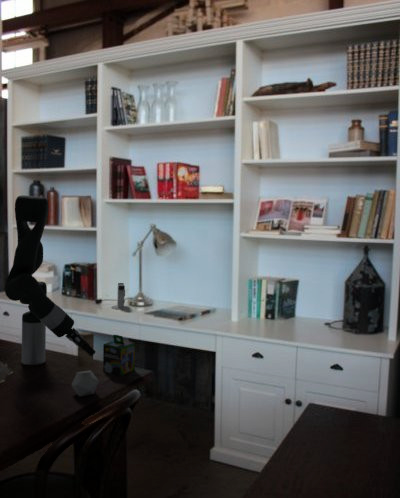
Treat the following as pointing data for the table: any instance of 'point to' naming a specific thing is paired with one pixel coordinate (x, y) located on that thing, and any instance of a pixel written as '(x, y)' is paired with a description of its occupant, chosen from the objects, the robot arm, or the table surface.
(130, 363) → the chalk box
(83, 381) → the die
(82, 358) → the oak cylinder
